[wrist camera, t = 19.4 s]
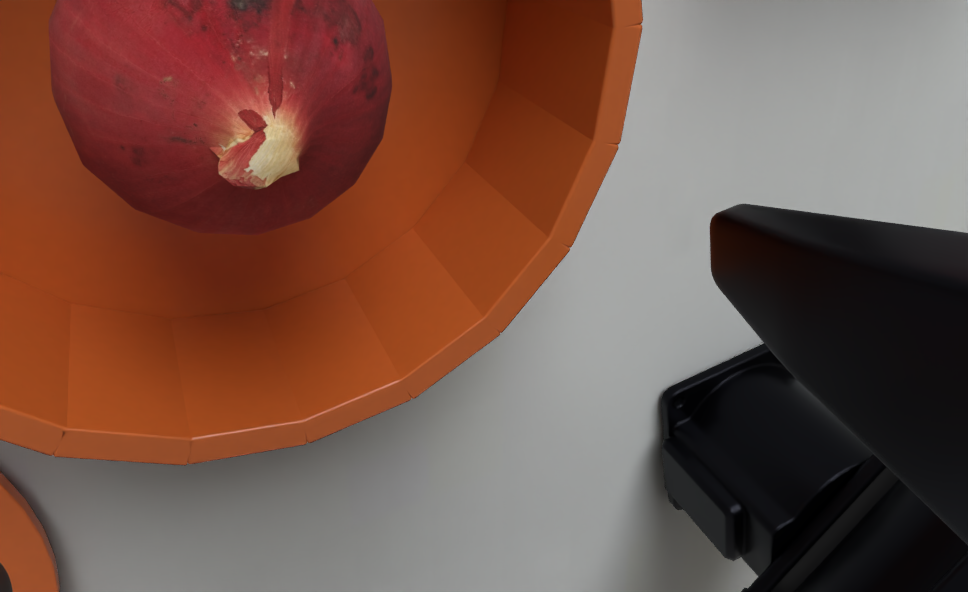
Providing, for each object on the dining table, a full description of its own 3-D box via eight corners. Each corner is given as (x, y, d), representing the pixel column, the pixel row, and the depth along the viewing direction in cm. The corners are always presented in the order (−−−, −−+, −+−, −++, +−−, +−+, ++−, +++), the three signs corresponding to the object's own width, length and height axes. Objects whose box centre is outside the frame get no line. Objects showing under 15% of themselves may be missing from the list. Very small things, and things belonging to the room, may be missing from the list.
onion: (52, -153, 15) (28, -131, 9) (352, -88, 18) (503, -34, 11) (57, 147, 17) (41, 335, 11) (320, 166, 20) (428, 328, 14)
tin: (451, -520, 15) (599, -656, 11) (558, 207, 24) (663, 293, 20) (-557, -373, 11) (-949, -489, 7) (12, 418, 20) (-9, 581, 16)
